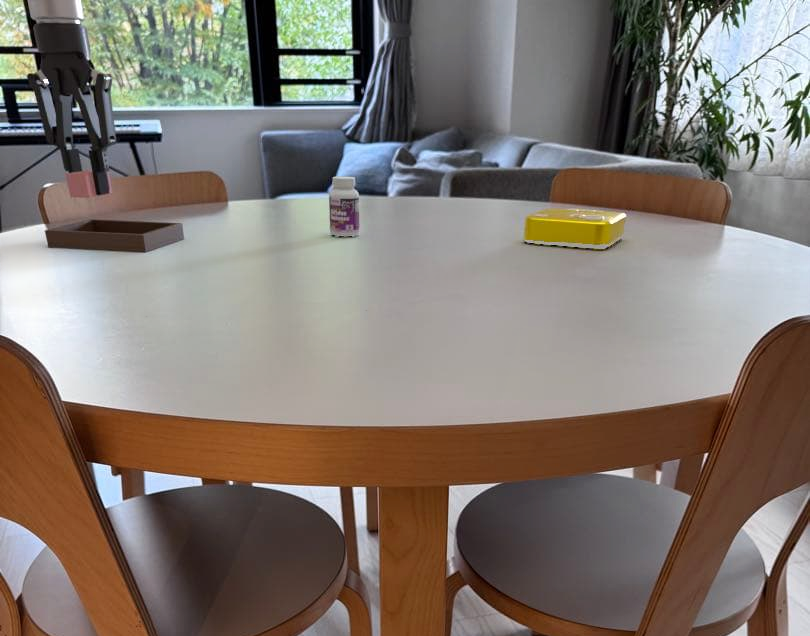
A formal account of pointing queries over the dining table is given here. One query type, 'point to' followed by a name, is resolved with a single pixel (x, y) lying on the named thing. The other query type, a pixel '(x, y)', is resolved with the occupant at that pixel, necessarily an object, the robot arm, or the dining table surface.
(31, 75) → the robot arm
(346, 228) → the pill bottle
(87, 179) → the eraser
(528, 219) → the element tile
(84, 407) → the dining table surface
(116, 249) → the tray
